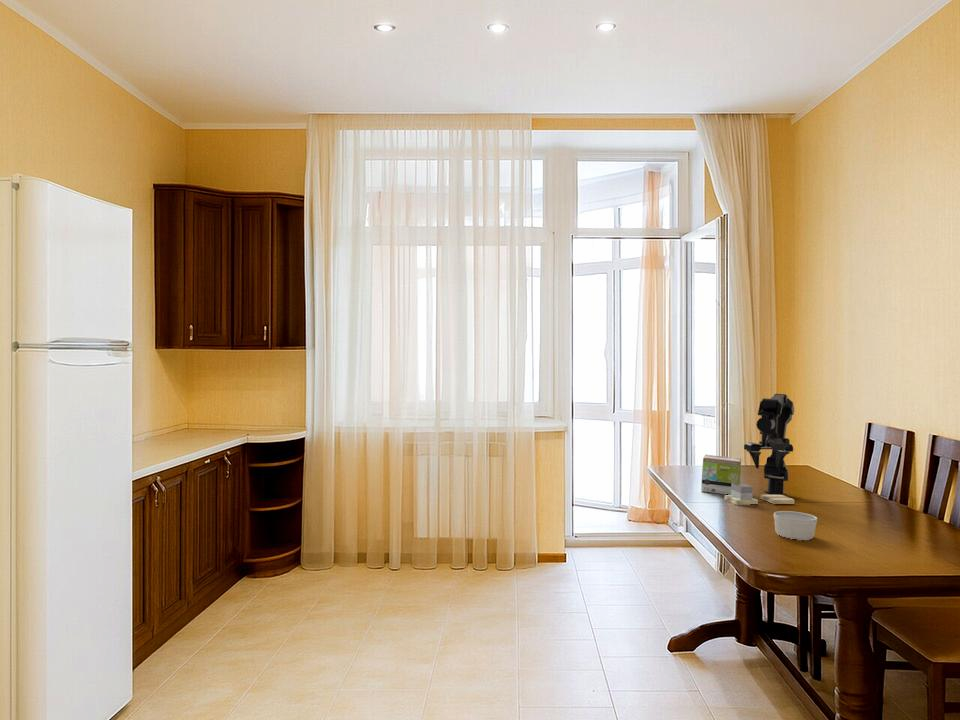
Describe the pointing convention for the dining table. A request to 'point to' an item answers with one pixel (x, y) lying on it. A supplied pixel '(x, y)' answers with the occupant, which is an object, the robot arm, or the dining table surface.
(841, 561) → the dining table surface
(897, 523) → the dining table surface
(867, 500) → the dining table surface
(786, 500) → the stand
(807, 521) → the ramekin
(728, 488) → the tea box
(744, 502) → the stand
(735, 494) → the block
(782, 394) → the robot arm
